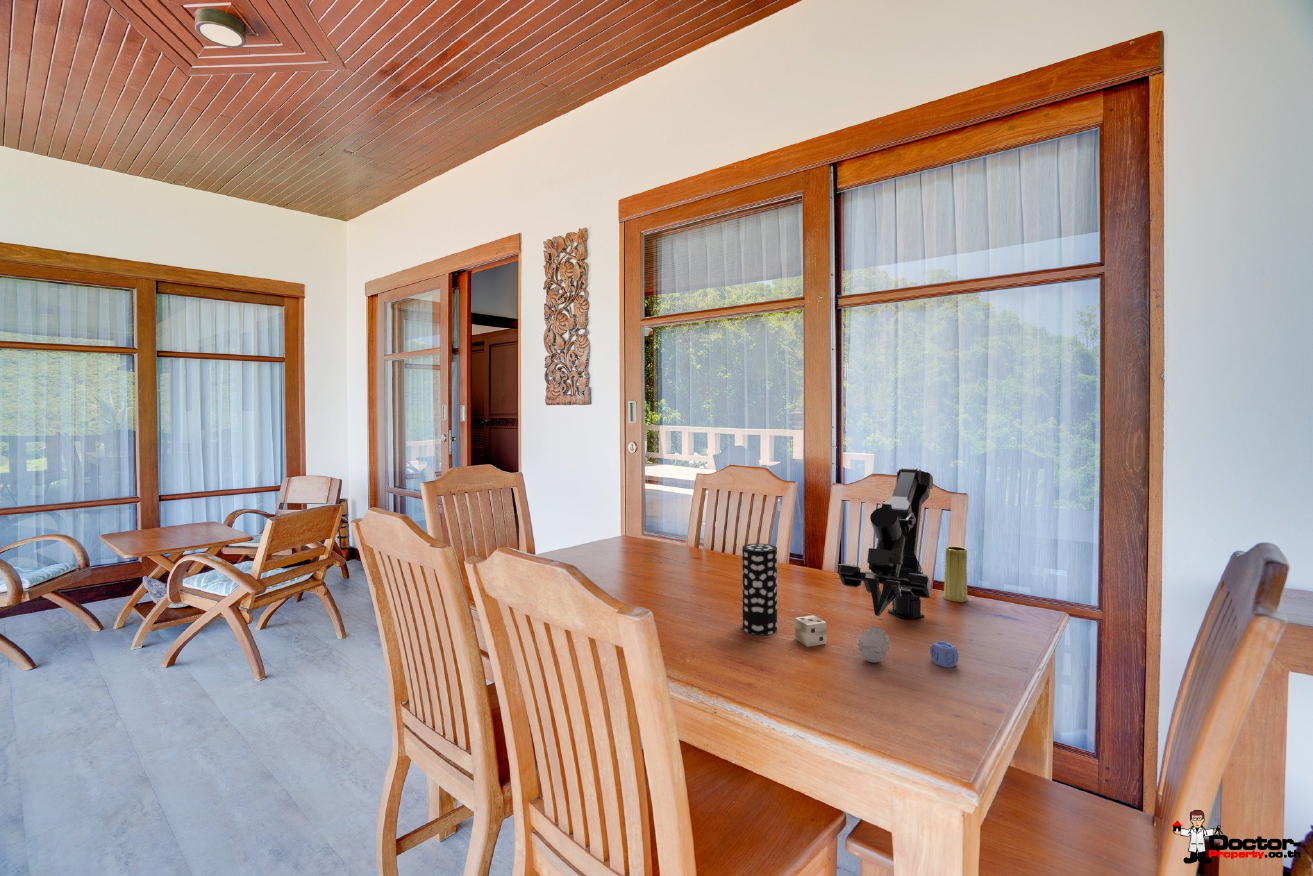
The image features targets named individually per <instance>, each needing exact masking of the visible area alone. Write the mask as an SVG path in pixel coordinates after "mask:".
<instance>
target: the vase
mask: <svg viewBox="0 0 1313 876" xmlns="http://www.w3.org/2000/svg"><path fill="white" fill-rule="evenodd" d="M967 553H968V549H967V548H966V547H963V546H953V545H952V546H946V547H945V559H944V560H945V562H944V563H945V564H944V581H943V582H944V583H943V596H942V597H943V598H944V599H945V600H947V601H950V602H954V603H964V602H965V603H966V602H967V601H968V600H969V599H968V598H969V597H968V573H967V572H968V571H967V570H968V569H967V567H968V566H967V565H968V556H967V555H968V554H967Z"/></svg>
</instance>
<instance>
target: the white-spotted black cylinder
mask: <svg viewBox="0 0 1313 876" xmlns="http://www.w3.org/2000/svg"><path fill="white" fill-rule="evenodd" d="M741 549H742V550H741V551H742V553H741V554H742V555H741V558H742V559H741V560H742V564H741V565H742V568H741V570H742V572H741V573H742V575H741V576H742V577H741V578H742V582H741V583H742V588H741V589H742V630H743V631H744V632H745V633H749V634H751V635H758V636H764V635H765V636H767V635H772V634H774V633H776V632H777V631H778V547H777V546H776V545H772V544H769V543H748V544H744V545H742V546H741Z"/></svg>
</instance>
